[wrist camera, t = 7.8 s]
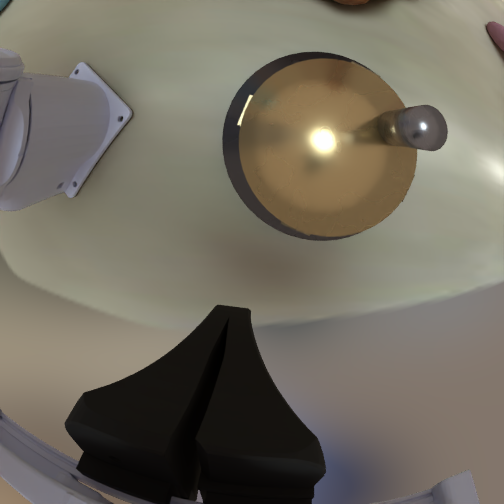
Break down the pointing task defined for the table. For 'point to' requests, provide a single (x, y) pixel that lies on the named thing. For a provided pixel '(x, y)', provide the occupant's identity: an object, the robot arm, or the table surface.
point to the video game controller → (496, 33)
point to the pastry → (351, 2)
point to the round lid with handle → (332, 146)
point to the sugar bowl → (3, 3)
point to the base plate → (232, 139)
